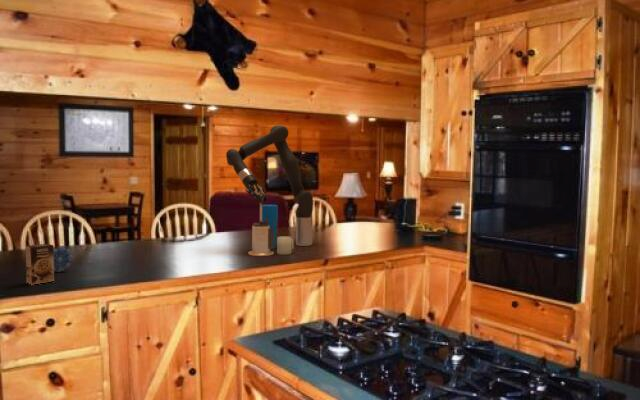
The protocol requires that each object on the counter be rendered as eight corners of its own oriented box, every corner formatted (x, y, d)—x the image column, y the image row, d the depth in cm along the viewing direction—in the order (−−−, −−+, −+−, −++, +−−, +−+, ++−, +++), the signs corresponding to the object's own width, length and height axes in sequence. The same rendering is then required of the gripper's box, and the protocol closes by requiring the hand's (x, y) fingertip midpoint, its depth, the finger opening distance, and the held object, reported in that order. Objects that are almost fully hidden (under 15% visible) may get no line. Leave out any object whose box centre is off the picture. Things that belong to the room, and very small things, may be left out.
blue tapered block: (274, 249, 316) (274, 206, 314) (257, 248, 318) (257, 205, 316) (279, 246, 326) (279, 204, 324) (262, 245, 328) (262, 204, 326)
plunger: (263, 232, 303) (263, 194, 301) (267, 233, 298) (267, 194, 297) (254, 233, 300) (254, 194, 298) (259, 234, 296) (259, 194, 294)
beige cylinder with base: (266, 250, 310) (266, 221, 308) (278, 254, 298) (278, 224, 297) (244, 252, 302) (244, 223, 301) (255, 257, 290) (255, 226, 289)
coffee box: (32, 286, 223) (30, 247, 222) (26, 283, 227) (24, 245, 226) (54, 282, 230) (53, 244, 228) (48, 279, 234) (47, 243, 233)
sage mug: (288, 251, 309) (288, 235, 308) (296, 253, 302) (296, 237, 302) (274, 252, 304) (274, 236, 303) (281, 255, 297) (281, 238, 296)
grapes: (72, 269, 256) (71, 244, 255) (74, 272, 250) (73, 246, 249) (44, 271, 250) (44, 246, 249) (45, 274, 244) (45, 248, 243)
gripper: (242, 174, 295) (258, 197, 289) (259, 173, 307) (275, 195, 300) (235, 183, 299) (251, 206, 293) (252, 182, 310) (268, 204, 304)
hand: (263, 201), depth 297 cm, fingers closed on plunger, 3 cm apart
